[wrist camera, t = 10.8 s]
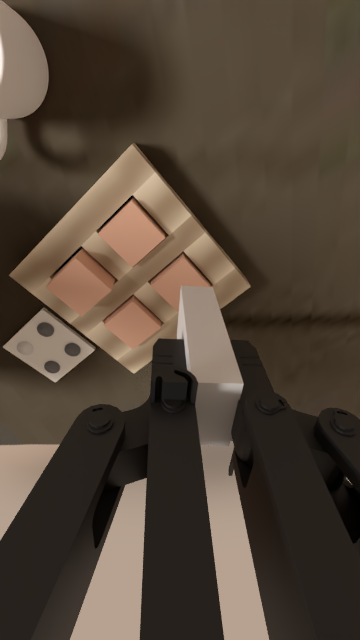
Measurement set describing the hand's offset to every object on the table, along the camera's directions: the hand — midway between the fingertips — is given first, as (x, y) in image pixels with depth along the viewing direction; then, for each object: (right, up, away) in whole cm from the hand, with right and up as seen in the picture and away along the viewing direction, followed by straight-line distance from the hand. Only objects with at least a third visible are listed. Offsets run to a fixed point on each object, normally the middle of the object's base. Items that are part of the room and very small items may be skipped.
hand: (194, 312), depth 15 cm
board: (-6, +6, +25) cm, 26 cm away
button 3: (-6, +10, +21) cm, 24 cm away
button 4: (-1, +5, +25) cm, 25 cm away
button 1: (-12, +5, +22) cm, 26 cm away
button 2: (-7, +1, +27) cm, 28 cm away
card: (-19, -4, +30) cm, 36 cm away
